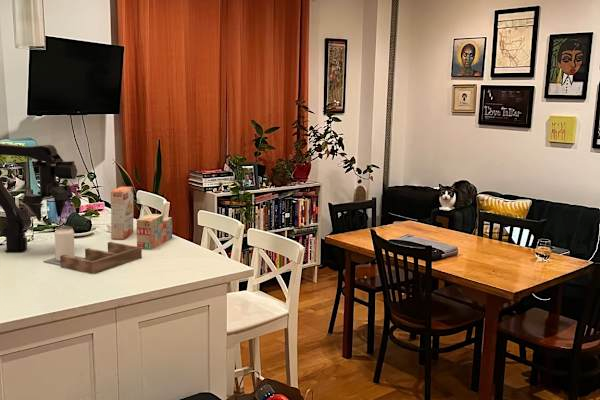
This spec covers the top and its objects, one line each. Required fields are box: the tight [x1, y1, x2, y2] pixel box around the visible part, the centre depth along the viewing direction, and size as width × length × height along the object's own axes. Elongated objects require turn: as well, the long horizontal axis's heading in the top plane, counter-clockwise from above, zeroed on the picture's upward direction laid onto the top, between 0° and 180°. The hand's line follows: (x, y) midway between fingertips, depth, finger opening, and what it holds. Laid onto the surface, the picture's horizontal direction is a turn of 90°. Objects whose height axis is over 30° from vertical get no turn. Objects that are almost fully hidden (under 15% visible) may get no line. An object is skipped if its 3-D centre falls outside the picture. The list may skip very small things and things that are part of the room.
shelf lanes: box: [60, 241, 143, 275], centre depth 214 cm, size 16×24×4 cm, turn 154°
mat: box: [42, 255, 85, 267], centre depth 215 cm, size 10×11×1 cm
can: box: [54, 225, 76, 262], centre depth 214 cm, size 6×6×12 cm
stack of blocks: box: [136, 213, 173, 251], centre depth 243 cm, size 21×6×12 cm, turn 169°
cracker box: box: [110, 186, 134, 240], centre depth 253 cm, size 14×6×21 cm, turn 179°
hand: (49, 218), depth 224 cm, fingers open, 9 cm apart
